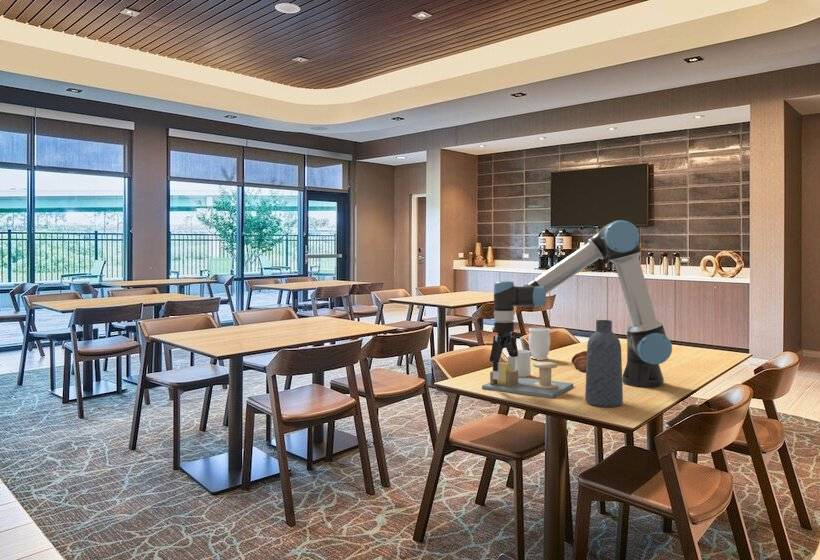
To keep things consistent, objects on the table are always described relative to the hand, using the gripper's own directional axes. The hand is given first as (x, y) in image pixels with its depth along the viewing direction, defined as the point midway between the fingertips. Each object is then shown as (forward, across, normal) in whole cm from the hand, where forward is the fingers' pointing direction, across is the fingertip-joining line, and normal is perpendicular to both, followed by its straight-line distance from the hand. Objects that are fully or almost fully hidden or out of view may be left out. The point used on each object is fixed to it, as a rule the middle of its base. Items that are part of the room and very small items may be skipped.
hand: (504, 376), depth 223 cm
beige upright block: (+3, 0, 0) cm, 3 cm away
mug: (+4, -22, -4) cm, 23 cm away
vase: (+4, +4, +39) cm, 40 cm away
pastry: (+5, -54, +15) cm, 56 cm away
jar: (+4, -65, -12) cm, 66 cm away
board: (+4, -4, +8) cm, 10 cm away
